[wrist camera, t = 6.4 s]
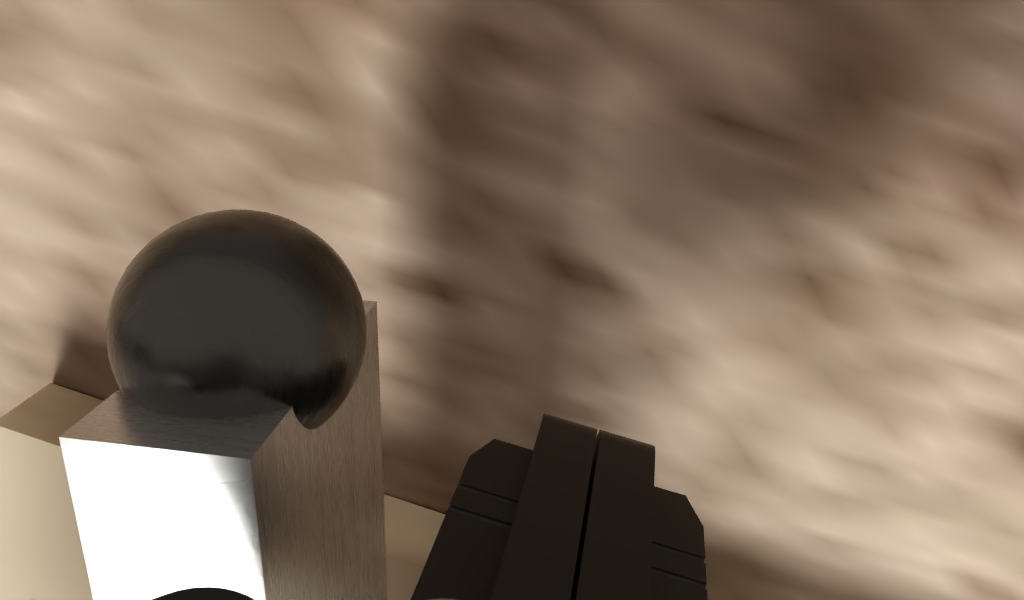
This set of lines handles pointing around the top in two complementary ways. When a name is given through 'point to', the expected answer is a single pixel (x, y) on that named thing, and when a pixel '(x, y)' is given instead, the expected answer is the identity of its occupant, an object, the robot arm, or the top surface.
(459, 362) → the top surface
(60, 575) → the beige flat square slab
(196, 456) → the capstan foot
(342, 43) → the top surface
